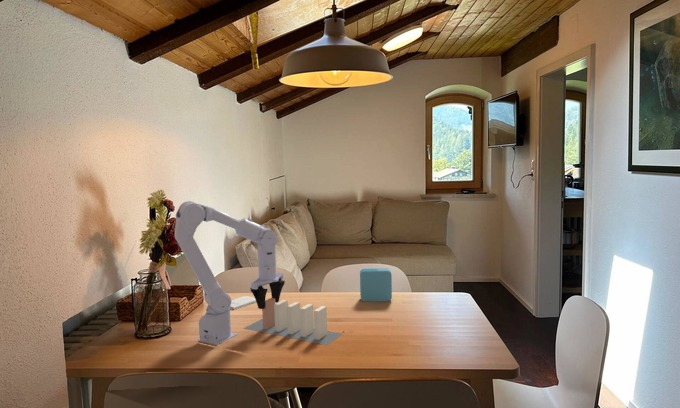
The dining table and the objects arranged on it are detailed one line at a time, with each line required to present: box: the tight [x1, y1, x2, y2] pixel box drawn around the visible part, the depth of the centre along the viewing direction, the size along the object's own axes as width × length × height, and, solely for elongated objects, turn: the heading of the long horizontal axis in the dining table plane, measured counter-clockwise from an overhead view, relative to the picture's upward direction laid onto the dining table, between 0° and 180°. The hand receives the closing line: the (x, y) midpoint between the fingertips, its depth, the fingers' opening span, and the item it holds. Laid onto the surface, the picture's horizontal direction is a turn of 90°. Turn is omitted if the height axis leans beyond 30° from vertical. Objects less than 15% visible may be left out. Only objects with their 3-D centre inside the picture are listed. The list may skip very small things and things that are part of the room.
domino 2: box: [274, 299, 288, 332], centre depth 154 cm, size 5×2×9 cm, turn 151°
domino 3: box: [287, 301, 301, 334], centre depth 151 cm, size 5×2×9 cm, turn 151°
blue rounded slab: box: [359, 268, 393, 303], centre depth 184 cm, size 12×4×12 cm, turn 89°
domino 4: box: [300, 303, 314, 337], centre depth 149 cm, size 5×2×9 cm, turn 151°
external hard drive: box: [230, 295, 257, 310], centre depth 184 cm, size 2×8×12 cm
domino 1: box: [261, 297, 276, 329], centre depth 156 cm, size 5×2×9 cm, turn 151°
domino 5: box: [313, 305, 328, 340], centre depth 147 cm, size 5×2×9 cm, turn 151°
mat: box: [243, 318, 343, 346], centre depth 152 cm, size 10×32×1 cm, turn 61°
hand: (268, 305), depth 156 cm, fingers open, 7 cm apart
